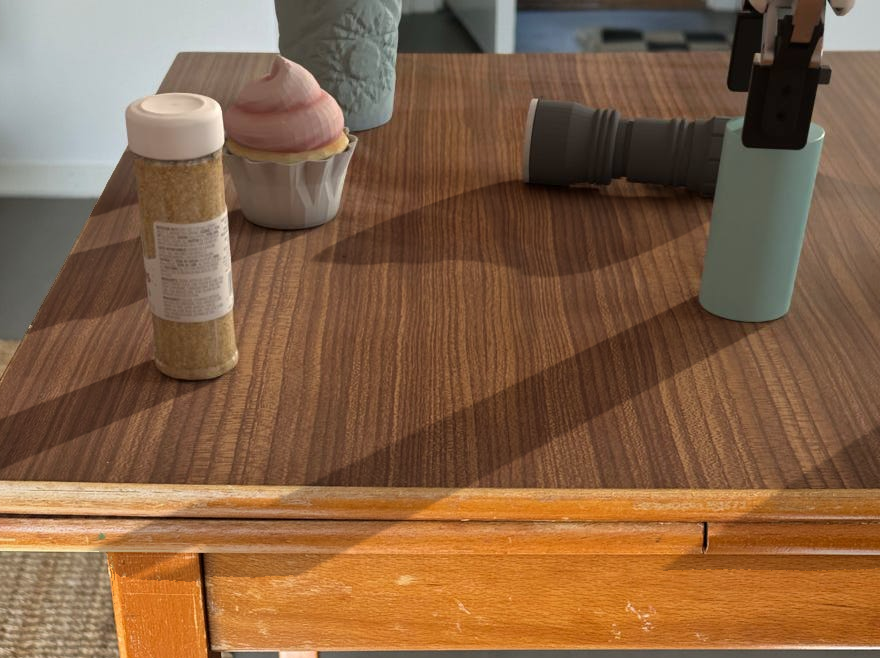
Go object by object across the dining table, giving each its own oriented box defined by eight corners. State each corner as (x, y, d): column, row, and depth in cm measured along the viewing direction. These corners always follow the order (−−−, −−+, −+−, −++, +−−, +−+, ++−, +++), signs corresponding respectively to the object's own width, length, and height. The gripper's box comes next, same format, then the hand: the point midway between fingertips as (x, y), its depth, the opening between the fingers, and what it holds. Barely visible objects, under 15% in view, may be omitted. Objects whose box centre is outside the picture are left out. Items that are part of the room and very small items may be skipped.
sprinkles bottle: (163, 344, 72) (134, 88, 64) (246, 346, 72) (228, 90, 64) (147, 383, 69) (114, 117, 60) (234, 385, 69) (213, 119, 60)
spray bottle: (695, 282, 79) (783, 287, 79) (701, 319, 75) (793, 325, 75) (733, 43, 71) (831, 47, 71) (741, 70, 67) (845, 75, 67)
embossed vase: (301, 91, 109) (296, -71, 102) (419, 102, 107) (422, -62, 100) (258, 129, 102) (249, -44, 94) (385, 141, 100) (385, -34, 92)
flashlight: (747, 184, 93) (761, 105, 89) (746, 212, 89) (761, 129, 85) (530, 166, 95) (536, 88, 92) (520, 192, 91) (525, 112, 88)
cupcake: (219, 191, 91) (206, 36, 85) (354, 187, 92) (351, 33, 86) (217, 243, 84) (204, 77, 77) (364, 238, 84) (363, 74, 78)
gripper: (954, -251, 53) (859, 176, 64) (882, -282, 66) (814, 75, 77) (764, -255, 54) (701, 169, 64) (731, -284, 67) (684, 70, 78)
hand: (763, 117), depth 71 cm, fingers open, 9 cm apart
